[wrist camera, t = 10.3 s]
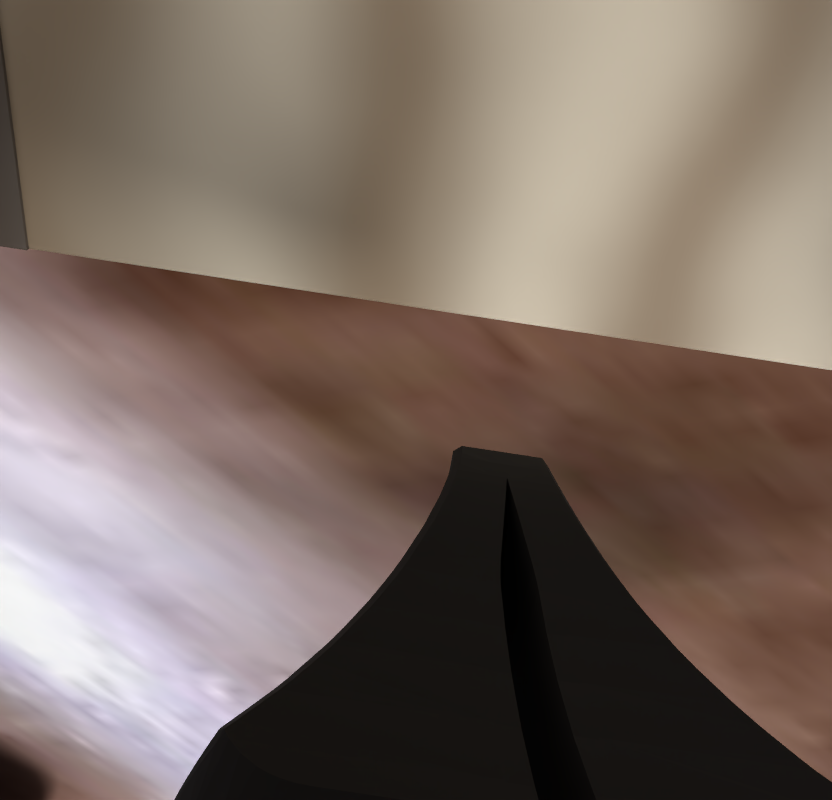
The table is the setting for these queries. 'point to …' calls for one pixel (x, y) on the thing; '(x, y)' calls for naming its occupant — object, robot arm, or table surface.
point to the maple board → (444, 155)
